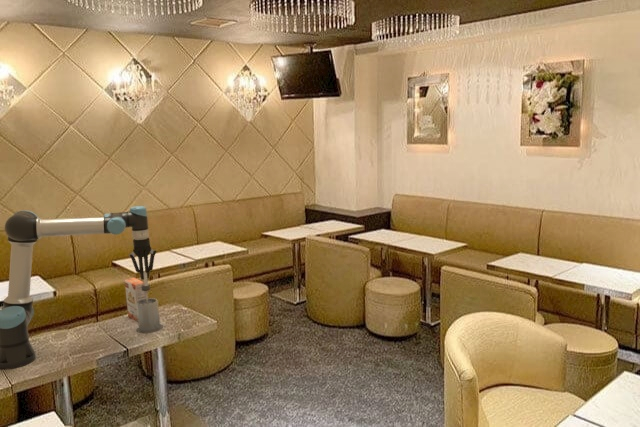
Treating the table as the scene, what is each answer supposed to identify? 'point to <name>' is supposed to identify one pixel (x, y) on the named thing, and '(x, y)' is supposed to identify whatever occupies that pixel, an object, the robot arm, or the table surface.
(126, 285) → the cracker box
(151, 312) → the grey hexagonal cup
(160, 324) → the coaster
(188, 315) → the table surface
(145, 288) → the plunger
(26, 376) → the table surface
